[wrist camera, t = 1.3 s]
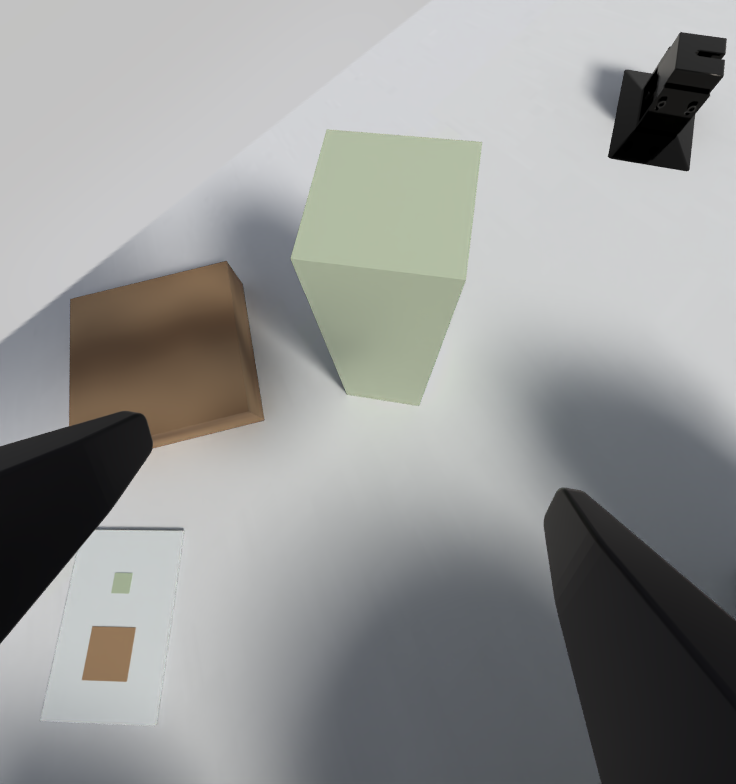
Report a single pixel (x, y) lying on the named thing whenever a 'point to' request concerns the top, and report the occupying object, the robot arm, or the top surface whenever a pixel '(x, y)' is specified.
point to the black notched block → (667, 103)
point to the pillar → (387, 254)
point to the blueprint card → (115, 629)
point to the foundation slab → (166, 354)
